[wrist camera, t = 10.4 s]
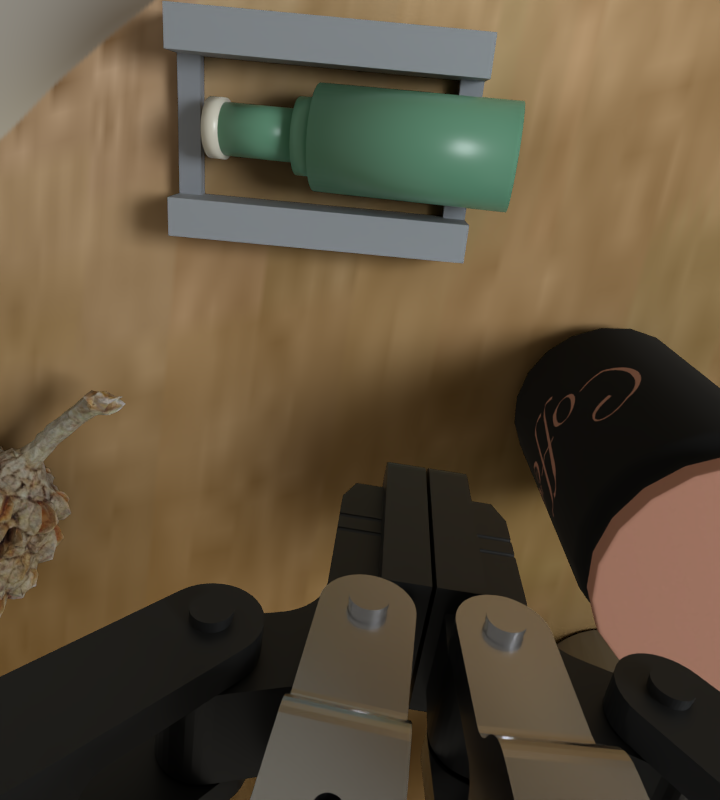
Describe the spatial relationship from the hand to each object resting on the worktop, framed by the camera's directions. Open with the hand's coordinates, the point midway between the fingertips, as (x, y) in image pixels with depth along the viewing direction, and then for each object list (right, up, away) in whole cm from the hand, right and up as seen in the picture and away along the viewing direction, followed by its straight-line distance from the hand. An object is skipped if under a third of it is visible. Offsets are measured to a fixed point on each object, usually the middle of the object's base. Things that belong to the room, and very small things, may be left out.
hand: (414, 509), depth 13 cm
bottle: (+7, +14, +20) cm, 25 cm away
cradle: (-3, +16, +24) cm, 29 cm away
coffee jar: (+14, +2, +29) cm, 32 cm away
